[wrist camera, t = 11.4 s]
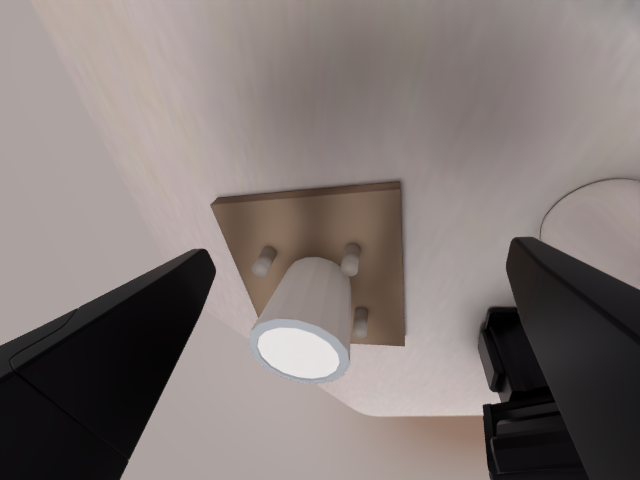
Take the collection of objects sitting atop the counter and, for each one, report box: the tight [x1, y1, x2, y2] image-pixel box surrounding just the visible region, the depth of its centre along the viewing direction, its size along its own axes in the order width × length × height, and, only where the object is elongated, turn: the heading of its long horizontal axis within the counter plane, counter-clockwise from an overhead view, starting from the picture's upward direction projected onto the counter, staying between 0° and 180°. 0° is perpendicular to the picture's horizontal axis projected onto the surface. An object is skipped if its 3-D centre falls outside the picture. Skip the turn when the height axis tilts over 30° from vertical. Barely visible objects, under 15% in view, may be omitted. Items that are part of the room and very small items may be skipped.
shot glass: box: [248, 257, 351, 384], centre depth 22 cm, size 7×7×7 cm
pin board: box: [210, 182, 405, 346], centre depth 24 cm, size 14×16×4 cm
